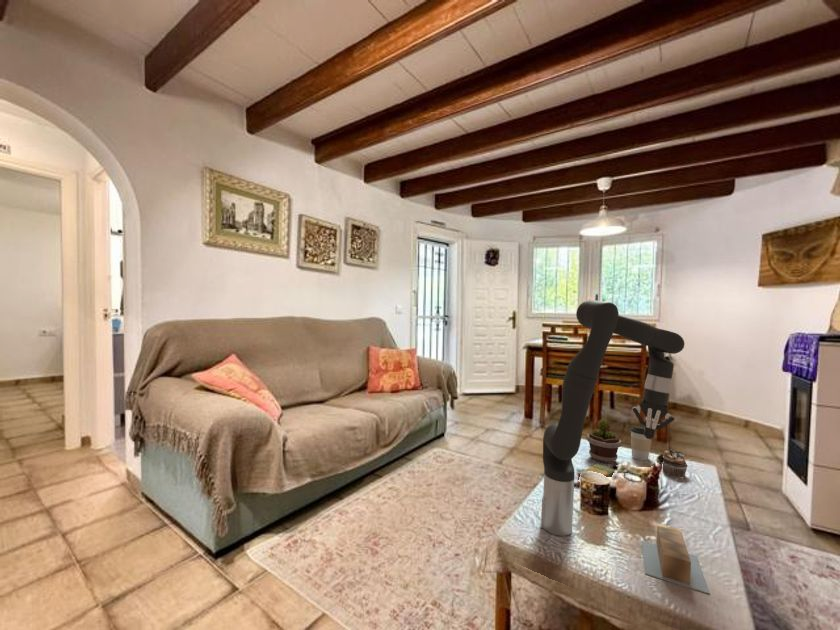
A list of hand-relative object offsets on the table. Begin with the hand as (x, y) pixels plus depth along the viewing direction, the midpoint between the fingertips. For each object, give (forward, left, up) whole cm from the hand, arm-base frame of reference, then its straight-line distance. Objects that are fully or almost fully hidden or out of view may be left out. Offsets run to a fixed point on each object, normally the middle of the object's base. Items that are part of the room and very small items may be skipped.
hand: (648, 438), depth 127 cm
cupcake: (+14, +46, -28) cm, 56 cm away
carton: (-16, +21, -28) cm, 38 cm away
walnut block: (+5, -16, -24) cm, 29 cm away
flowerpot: (-14, +46, -28) cm, 56 cm away
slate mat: (+5, -25, -27) cm, 37 cm away
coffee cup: (+2, +59, -28) cm, 66 cm away
